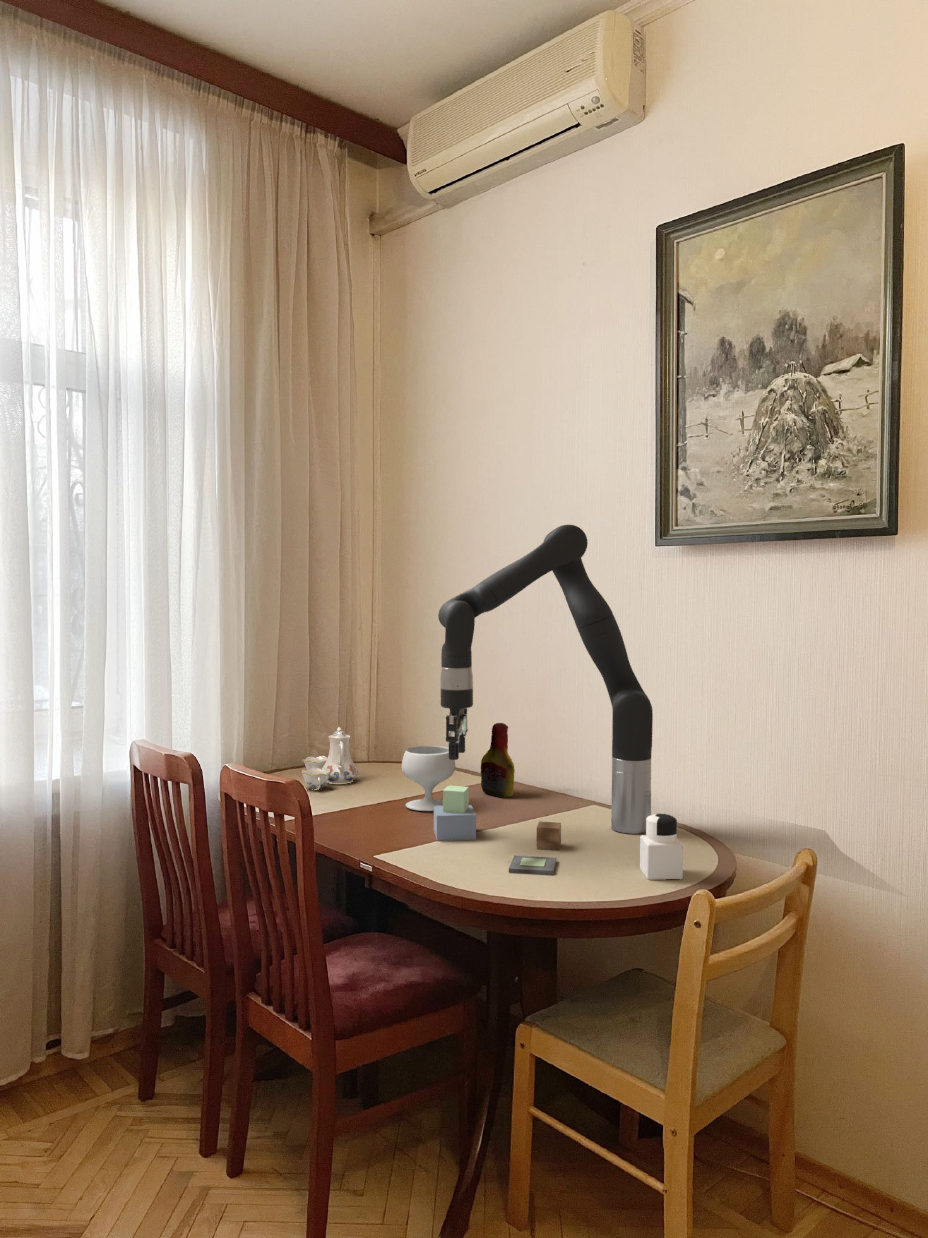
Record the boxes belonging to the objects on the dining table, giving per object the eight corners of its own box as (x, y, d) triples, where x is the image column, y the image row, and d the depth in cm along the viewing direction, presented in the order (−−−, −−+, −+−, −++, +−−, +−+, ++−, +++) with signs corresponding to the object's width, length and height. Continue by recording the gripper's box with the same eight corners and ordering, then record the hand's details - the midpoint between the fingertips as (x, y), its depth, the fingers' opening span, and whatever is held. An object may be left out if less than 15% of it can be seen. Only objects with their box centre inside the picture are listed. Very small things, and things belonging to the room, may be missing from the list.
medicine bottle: (673, 868, 192) (674, 811, 192) (683, 880, 185) (683, 820, 185) (639, 869, 192) (640, 811, 192) (647, 880, 185) (648, 820, 185)
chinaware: (298, 778, 284) (292, 725, 283) (353, 770, 288) (347, 717, 286) (305, 800, 257) (298, 741, 255) (365, 791, 260) (359, 732, 259)
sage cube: (468, 808, 219) (468, 786, 219) (464, 813, 214) (464, 791, 214) (448, 806, 220) (448, 785, 220) (442, 812, 215) (443, 790, 215)
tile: (556, 861, 197) (556, 856, 197) (552, 875, 188) (552, 870, 188) (514, 859, 199) (514, 854, 199) (508, 872, 190) (508, 867, 190)
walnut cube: (560, 844, 210) (561, 822, 210) (559, 851, 205) (559, 828, 205) (538, 843, 211) (538, 821, 210) (536, 849, 206) (536, 827, 206)
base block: (471, 830, 222) (471, 805, 222) (476, 840, 213) (476, 814, 213) (433, 831, 221) (433, 806, 221) (436, 842, 212) (436, 816, 212)
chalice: (444, 815, 234) (444, 756, 234) (393, 810, 239) (393, 752, 238) (462, 802, 248) (462, 746, 247) (413, 798, 252) (413, 743, 251)
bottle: (520, 797, 253) (520, 724, 252) (502, 801, 249) (502, 727, 248) (493, 789, 263) (494, 719, 262) (475, 792, 259) (475, 721, 258)
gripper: (467, 690, 208) (467, 762, 209) (477, 683, 222) (477, 750, 223) (434, 690, 209) (435, 761, 210) (446, 682, 223) (447, 750, 224)
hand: (457, 756), depth 217 cm, fingers open, 8 cm apart
